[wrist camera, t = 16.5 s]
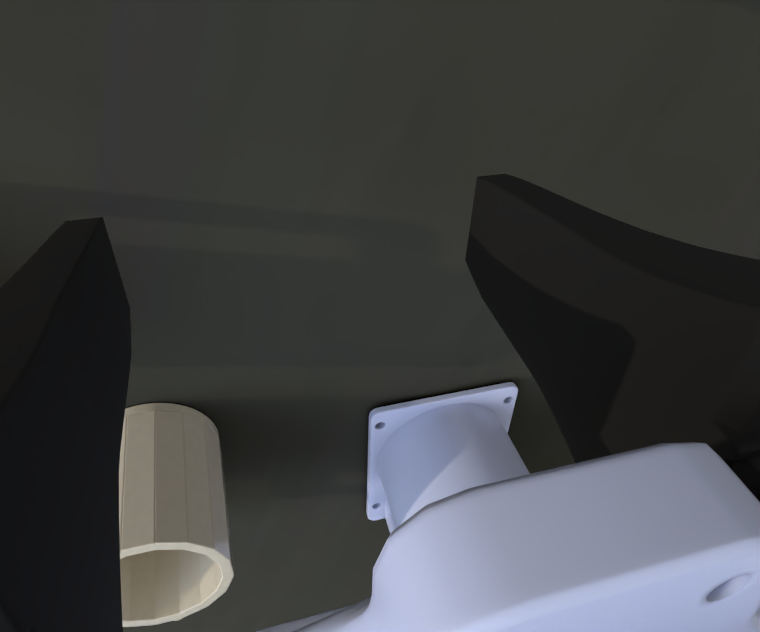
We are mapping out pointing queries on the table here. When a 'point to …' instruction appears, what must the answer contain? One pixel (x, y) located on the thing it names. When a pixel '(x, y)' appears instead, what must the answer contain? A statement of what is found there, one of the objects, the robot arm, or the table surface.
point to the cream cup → (171, 514)
